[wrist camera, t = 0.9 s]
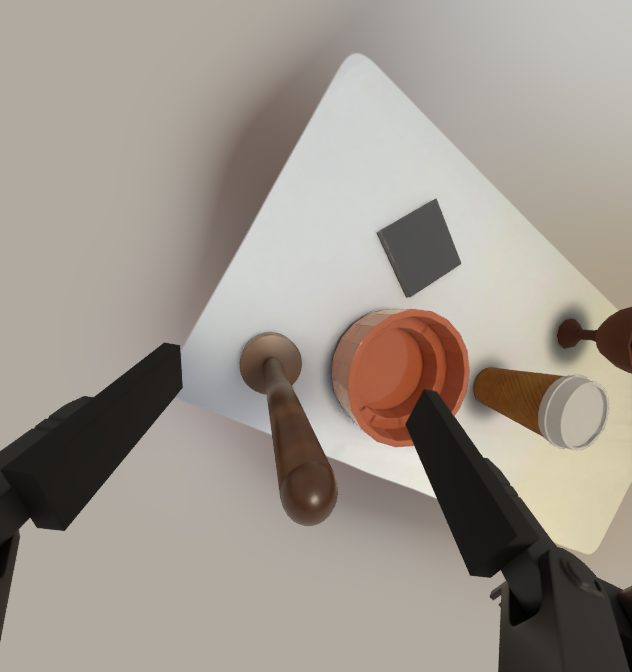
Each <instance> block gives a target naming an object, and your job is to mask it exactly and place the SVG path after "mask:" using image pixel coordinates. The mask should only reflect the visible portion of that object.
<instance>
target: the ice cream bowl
mask: <svg viewBox="0 0 632 672" xmlns="http://www.w3.org/2000/svg"><path fill="white" fill-rule="evenodd" d="M557 337H558V341H559V344H560V345H561V346H562V347H563V348H570V347H574V346H575V345H576V344H577V343H578V342H579V341H580V340H592V341H595V342H596V345H597V348H598V350H599V352H600V353H601V354H602V355H603V356H604V357H606V358H607V359H608V360H609V361H610V362H611V363H612V364H614V365H615V366H616V367H618V368H620V369H622V370H624V371H626V372H629V373H632V307H630V308H626V309H622V310H619V311H618V312H616V313H614V314H613V315H611V316H610V317H608V318H607V319H606V320H605V321H604V322H603V323H602V325H601V326H600V327H599V328H598V330H594V331H593V330H583V329H582V327H581V325H580V324H579V323H578V322H577V321H576V320H574V319H568V320H565V321H564V322H563V323H562V324H561V326H560V327H559V331H558V335H557Z"/></svg>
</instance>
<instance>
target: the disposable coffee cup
mask: <svg viewBox="0 0 632 672" xmlns="http://www.w3.org/2000/svg"><path fill="white" fill-rule="evenodd" d="M474 394H475V397H476V399H477V400H478V401H479V402H481V403H483V404H484V405H486V406H488V407H490V408H492V409H493V410H495V411H497V412H499V413H501V414H503V415H504V416H506V417H508V418H510V419H512V420H513V421H515V422H517V423H519V424H521V425H523V426H524V427H526V428H528V429H530V430H532V431H534V432H535V433H537V434H539V435H541V436H543V437H544V438H545V439H546V440H547V441H549V442H550V443H551V444H552V445H554V446H556V447H558V448H562V449H566V448H567V449H571V450H576V451H580V450H584V449H586V448H588V447H590V446H591V445H592V444H593V443H594V442H595V441H596V440H597V439H598V438H599V436H600V435H601V433H602V432H603V430H604V427H605V425H606V422H607V419H608V414H609V398H608V394H607V392H606V390H605V389H604V387H603V386H602V385H600V384H599V383H596V382H594V381H591V380H590V379H588V378H587V377H585V376H582V375H572V376H570V375H569V376H558V375H549V374H542V373H533V372H524V371H516V370H507V369H499V368H486V369H485V370H483V371H482V372H481V373H480V374H479V375H478V376H477V378H476V380H475V384H474Z"/></svg>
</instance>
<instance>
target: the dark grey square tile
mask: <svg viewBox="0 0 632 672" xmlns="http://www.w3.org/2000/svg"><path fill="white" fill-rule="evenodd" d="M377 234H378V236H379V238H380V240H381V242H382V245H383V247H384V249H385V251H386V253H387V255H388V258H389V260H390V262H391V264H392V266H393V268H394V271H395V273H396V275H397V277H398V279H399V282H400V284H401V286H402V288H403V290H404V292H405V295H406V297H411V296H413V295H414V294H416V293H417V292H419V291H420V290H422V289H424V288H425V287H427V286H428V285H430V284H431V283H433V282H434V281H436V280H437V279H439V278H440V277H442V276H443V275H445V274H446V273H448V272H450V271H451V270H453V269H454V268H456V267H457V266H459V265H460V264H461V261H460V259H459V256H458V253H457V251H456V248H455V246H454V243H453V240H452V238H451V235H450V233H449V230H448V227H447V225H446V222H445V220H444V217H443V214H442V212H441V209H440V207H439V204H438V201H437V199H434V200H432V201H431V202H429V203H427V204H426V205H424V206H422V207H420V208H419V209H417V210H415V211H413V212H412V213H410V214H408V215H406V216H405V217H403V218H401V219H400V220H398V221H396V222H394V223H393V224H391V225H389V226H387V227H386V228H384V229H382V230H380V231H379V232H377Z"/></svg>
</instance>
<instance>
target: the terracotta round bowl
mask: <svg viewBox="0 0 632 672" xmlns="http://www.w3.org/2000/svg"><path fill="white" fill-rule="evenodd" d="M469 371H470V370H469V361H468V352H467V349H466V347H465V344H464V342H463V339H462V337H461V335H460V333H459V332H458V331H457V330H456V329H455V328H454V326H453V325H452V324H451V323H450V322H449V321H448V320H447V319H445V318H443V317H441V316H439V315H438V314H436V313H434V312H432V311H424V310H416V309H389V310H382V311H378V312H374V313H370V314H368V315H366V316H365V317H363V318H362V319H360V320H358V321H357V322H355V323H354V324H353V325H352V326H351V327H350V328H349V330H348V331H347V332H346V333H345V334H344V336H343V337H342V338H341V339H340V342H339V344H338V347H337V349H336V351H335V354H334V356H333V364H332V374H331V376H332V377H331V378H332V382H333V387H334V392H335V395H336V397H337V399H338V400H339V402H340V404H341V405H342V407H343V409H344V410H345V411H346V412H347V413H348V415H349V416H350V417H351V418H352V419H353V420H354V421H355V422H356V423H357V425H358V426H359V427H360V428H361V429H362V430H363V431H364V432H366V433H367V434H368V435H369V436H371V437H372V438H373V439H374V440H376V441H377V442H380V443H383V444H387V445H390V446H393V447H405V446H414V444H413V441H412V439H411V437H410V434H409V432H408V430H407V428H406V425H405V423H406V422H407V420H408V418H409V416H410V414H411V412H412V410H413V408H414V406H415V404H416V403H417V401H418V399H419V397H420V395H421V393H422V391H423V389H427V390H433V391H437V392H438V394H439V395H440V397H441V398H442V400H443V401H444V402H445V404H446V405H447V407H448V408H449V410H450V411H451V412H452V414H453V415H454V416H455V414H456V413H457V412H458V410H459V409H460V406H461V404H462V401H463V399H464V397H465V394H466V392H467V386H468V379H469Z"/></svg>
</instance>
